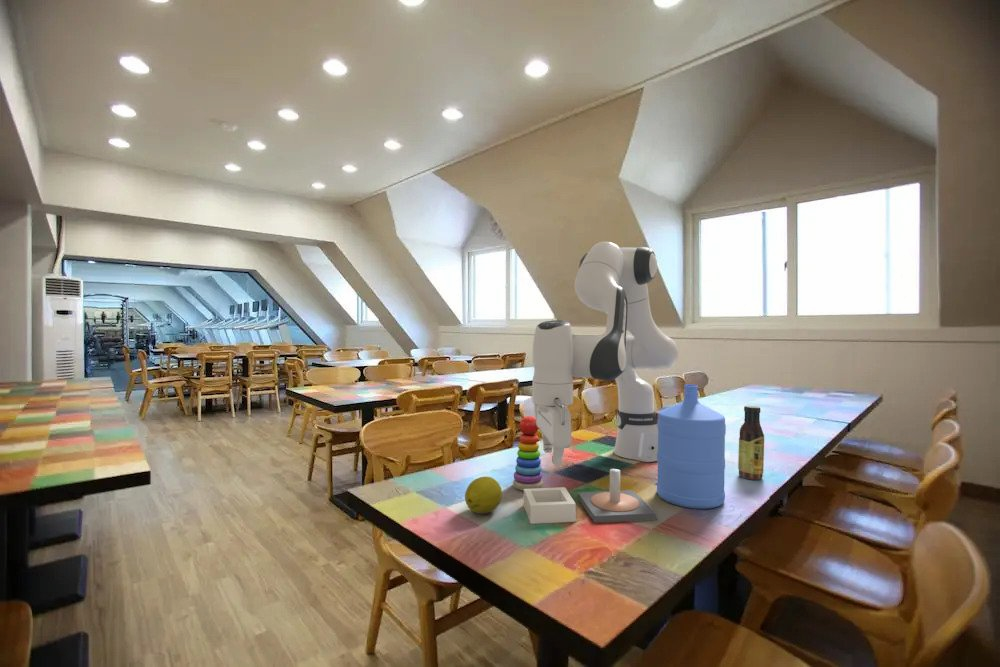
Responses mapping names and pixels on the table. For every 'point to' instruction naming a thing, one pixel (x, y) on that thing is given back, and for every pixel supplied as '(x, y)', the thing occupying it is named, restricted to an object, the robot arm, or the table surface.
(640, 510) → the rod stand
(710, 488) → the water jug
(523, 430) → the stacking toy
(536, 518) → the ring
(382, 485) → the table surface
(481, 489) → the lemon
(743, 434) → the sauce bottle
